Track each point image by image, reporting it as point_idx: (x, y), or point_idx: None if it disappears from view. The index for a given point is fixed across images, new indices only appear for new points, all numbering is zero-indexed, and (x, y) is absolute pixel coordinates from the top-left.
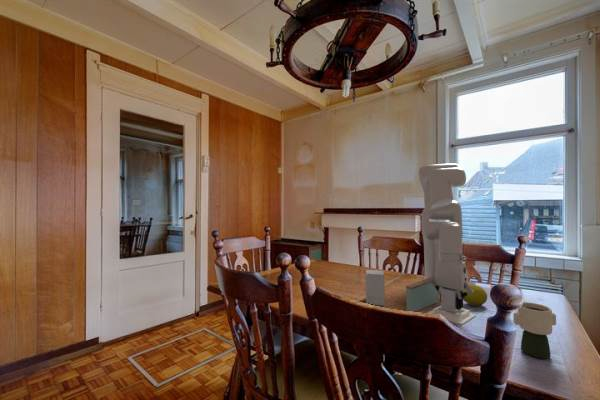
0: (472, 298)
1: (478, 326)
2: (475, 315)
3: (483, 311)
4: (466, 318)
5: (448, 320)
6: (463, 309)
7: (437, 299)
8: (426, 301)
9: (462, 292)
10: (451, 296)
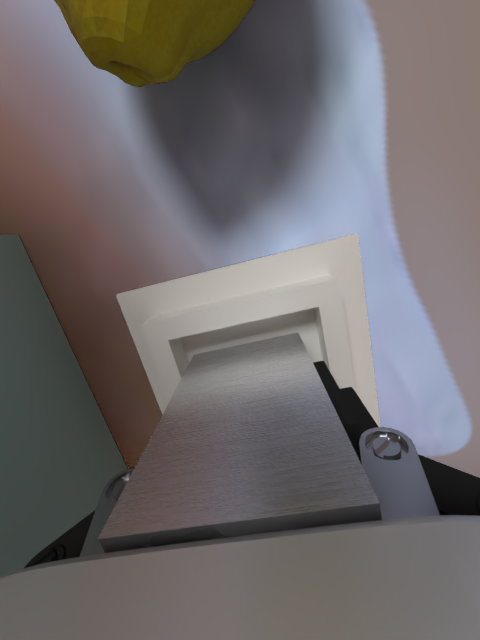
0: (230, 5)
1: (443, 375)
2: (359, 250)
3: (327, 53)
4: (354, 357)
5: None
6: (297, 306)
7: (4, 239)
8: (67, 410)
9: (422, 512)
10: None
